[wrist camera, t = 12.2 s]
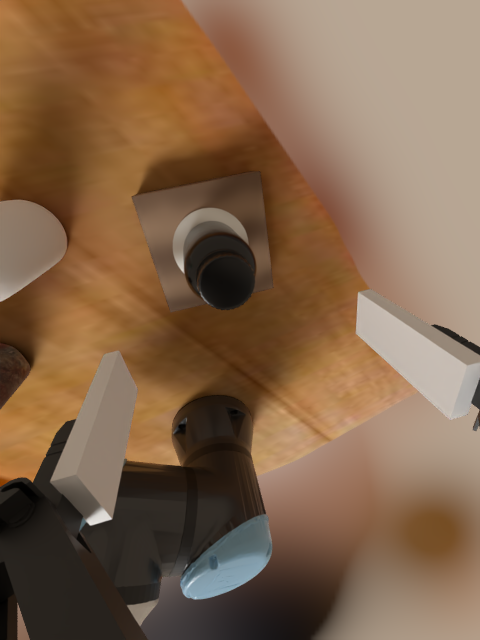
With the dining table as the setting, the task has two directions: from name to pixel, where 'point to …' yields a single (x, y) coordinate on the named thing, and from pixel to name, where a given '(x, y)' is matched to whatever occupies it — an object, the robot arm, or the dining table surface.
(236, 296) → the supplement bottle
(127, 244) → the dining table surface
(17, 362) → the brown cylinder
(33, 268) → the milk bottle
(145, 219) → the walnut plinth
